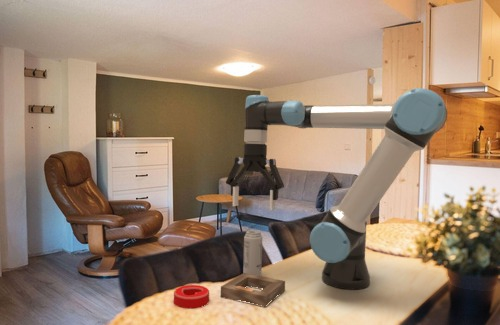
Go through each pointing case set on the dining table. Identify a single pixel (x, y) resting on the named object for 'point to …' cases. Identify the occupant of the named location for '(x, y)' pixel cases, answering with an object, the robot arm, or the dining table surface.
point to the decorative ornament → (191, 296)
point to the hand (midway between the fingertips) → (253, 208)
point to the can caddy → (263, 297)
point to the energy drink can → (252, 253)
